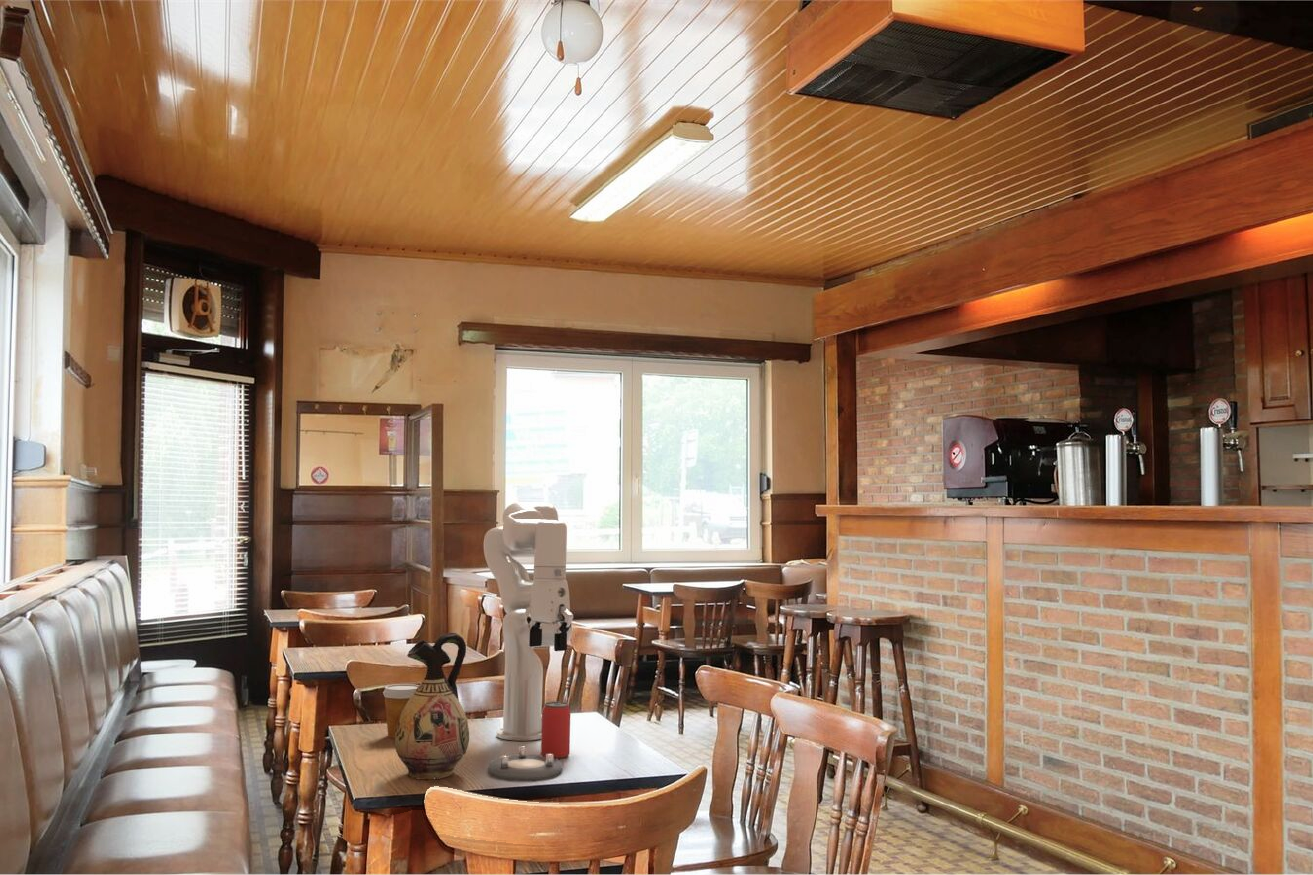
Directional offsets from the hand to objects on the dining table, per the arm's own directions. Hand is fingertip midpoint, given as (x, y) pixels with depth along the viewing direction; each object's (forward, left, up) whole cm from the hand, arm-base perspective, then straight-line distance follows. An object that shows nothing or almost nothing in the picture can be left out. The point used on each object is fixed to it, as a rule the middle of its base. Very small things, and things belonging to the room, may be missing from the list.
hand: (547, 648), depth 238 cm
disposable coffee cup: (+14, -40, -25) cm, 49 cm away
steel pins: (+13, +8, -23) cm, 27 cm away
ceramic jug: (+28, -2, -25) cm, 37 cm away
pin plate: (+11, +8, -25) cm, 28 cm away
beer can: (-2, +1, -25) cm, 25 cm away
